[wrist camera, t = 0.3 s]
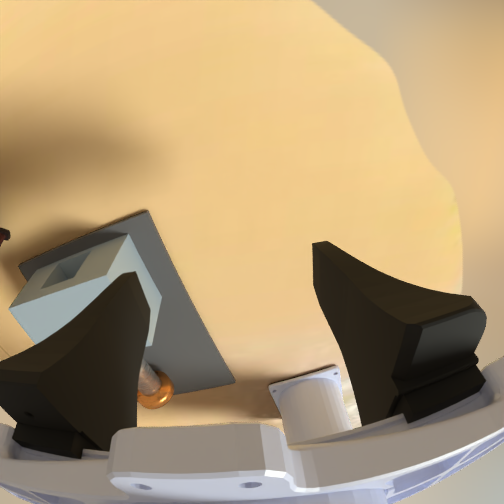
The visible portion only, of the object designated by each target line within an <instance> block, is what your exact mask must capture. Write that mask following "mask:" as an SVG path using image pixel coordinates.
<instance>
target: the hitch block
mask: <svg viewBox="0 0 504 504" xmlns="http://www.w3.org/2000/svg"><path fill="white" fill-rule="evenodd" d="M133 271H136V273H137V276H138V278H139V281H140V284H141V286H142V289H143V291H144V294H145V297H146V299H147V302H148V304H149V307H150V309H151V313H150V325H149V333H148V337H147V342H146V346H145V347H147V346H152V342H153V337H154V332H155V327H156V323H157V318H158V313H159V308H160V304H161V299H162V296H161V294H160V292H159V291H158V289H157V287H156V285H155V283H154V282H153V280H152V278H151V276H150V274H149V272H148V270H147V269H146V267H145V265H144V263H143V261H142V259H141V257H140V255H139V253H138V251H137V249H136V247H135V245H134V243H133V241H132V239H131V237H130V235H129V234H126V235H123V236H121V237H118V238H115V239H113V240H110V241H107V242H105V243H102V244H99V245H97V246H94V247H92V248H89V249H87V250H84V251H81V252H79V253H76V254H74V255H71V256H69V257H67V258H64V259H62V260H59V261H57V262H54V263H52V264H50V265H47V266H45V267H42V268H40V269H38V270H36V272H35V273H34V274H33V275H32V277H31V278H30V279H29V281H28V282H27V283H26V285H25V286H24V287H23V289H22V290H21V292H20V293H19V294H18V296H17V297H16V299H15V300H14V301H13V303H12V304H11V306H10V307H9V311H10V312H11V313H12V315H13V316H14V317H15V319H16V320H17V321H18V323H19V324H20V325H21V327H22V328H23V329H24V331H25V332H26V333H27V334H28V336H29V337H30V338H31V339H32V341H33V342H34V343H35V344H38V343H39V342H41V341H43V340H44V339H46V338H47V337H49V336H50V335H52V334H53V333H55V332H56V331H58V330H59V329H60V328H62V327H63V326H64V325H66V324H67V323H68V322H69V321H71V320H72V319H73V318H74V317H76V316H77V315H78V314H79V313H80V312H81V311H82V310H83V309H84V308H85V307H87V306H88V305H89V304H90V303H91V302H92V301H93V300H94V299H95V298H96V297H97V296H98V295H99V294H100V293H101V292H102V291H103V290H104V289H105V288H107V287H108V286H109V285H110V284H111V283H112V282H113V281H114V280H115V279H116V278H117V277H118V276H120V275H121V274H122V273H127V272H133Z"/></svg>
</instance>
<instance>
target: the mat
mask: <svg viewBox="0 0 504 504" xmlns="http://www.w3.org/2000/svg"><path fill="white" fill-rule="evenodd" d="M126 234H129V235H130V237H131V239H132V241H133V243H134V245H135V247H136V249H137V251H138V253H139V255H140V257H141V259H142V261H143V263H144V265H145V267H146V269H147V270H148V272H149V274H150V276H151V278H152V280H153V282H154V283H155V285H156V287H157V289H158V291H159V292H160V294H161V296H162V299H161V304H160V308H159V313H158V318H157V323H156V327H155V332H154V337H153V342H152V346H147V347H145V351H144V355H143V358H144V360H145V361H146V362H147V363H148V365H149V366H150V367H151V368H152V370H153V371H162V372H164V373H165V374H167V376H168V377H169V378H170V379H171V381H172V382H173V384H174V393H173V395H176V394H182V393H187V392H193V391H199V390H204V389H209V388H214V387H219V386H224V385H229V384H233V383H235V379H234V377H233V375H232V374H231V372H230V370H229V368H228V367H227V365H226V363H225V362H224V360H223V358H222V356H221V354H220V353H219V351H218V349H217V347H216V346H215V344H214V342H213V340H212V338H211V336H210V335H209V333H208V331H207V329H206V327H205V325H204V323H203V322H202V320H201V318H200V316H199V314H198V312H197V310H196V308H195V306H194V305H193V303H192V301H191V299H190V297H189V295H188V293H187V291H186V289H185V287H184V285H183V283H182V281H181V279H180V277H179V275H178V273H177V271H176V269H175V267H174V265H173V263H172V261H171V259H170V256H169V254H168V252H167V250H166V248H165V246H164V244H163V242H162V240H161V237H160V235H159V233H158V231H157V229H156V227H155V224H154V222H153V220H152V218H151V216H150V213H149V211H145V212H142V213H140V214H137V215H134V216H132V217H129V218H127V219H124V220H121V221H119V222H116V223H114V224H111V225H109V226H106V227H104V228H101V229H99V230H96V231H94V232H91V233H89V234H87V235H84V236H82V237H79V238H77V239H75V240H72V241H70V242H68V243H65V244H63V245H61V246H59V247H56V248H54V249H52V250H50V251H47V252H45V253H43V254H41V255H39V256H36V257H34V258H32V259H30V260H28V261H26V262H24V263H21V264H20V265H19V266H18V267H19V269H20V270H21V272H22V274H23V275H24V277H25V279H26V280H27V282H28V281H29V279H30V278H31V277H32V275H33V274H34V273H35V272H36V270H38V269H40V268H42V267H45V266H47V265H50V264H52V263H54V262H57V261H59V260H62V259H64V258H67V257H69V256H71V255H74V254H76V253H79V252H81V251H84V250H87V249H89V248H92V247H94V246H97V245H99V244H102V243H105V242H107V241H110V240H113V239H115V238H118V237H121V236H123V235H126Z"/></svg>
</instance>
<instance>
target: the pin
mask: <svg viewBox="0 0 504 504" xmlns="http://www.w3.org/2000/svg"><path fill="white" fill-rule="evenodd" d="M173 393H174V384H173V382H172V381H171V379H170V378H169V377H168V376H167V374H165V373H164V372H162V371H153V370H152V368H151V367H150V366H149V365H148V363H147V362H146V361H145V360H144V358H143V360H142V364H141V369H140V374H139V381H138V394H137V401H138V402H139V403H140V404H141V405H142V406H144V407H145V408H148V409H157V408H160V407H162V406H163V405H165V404H166V403H167V402H168V401H169V400H170V399H171V397H172V395H173Z"/></svg>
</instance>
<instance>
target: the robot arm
mask: <svg viewBox="0 0 504 504" xmlns="http://www.w3.org/2000/svg"><path fill="white" fill-rule="evenodd" d="M312 250H313V286H314V289H315V292H316V295H317V298H318V301H319V304H320V307H321V309H322V311H323V313H324V315H325V317H326V319H327V322H328V324H329V326H330V328H331V330H332V332H333V334H334V336H335V338H336V341H337V343H338V345H339V347H340V350H341V352H342V355H343V358H344V361H345V364H346V367H347V370H348V374H349V377H350V381H351V384H352V388H353V391H354V395H355V399H356V403H357V407H358V411H359V415H360V420H361V424H362V427H358V428H355V429H353V428H352V425H351V422H350V419H349V416H348V413H347V410H346V407H345V404H344V401H343V395H342V386H341V377H340V369H339V367H338V366H333V367H330V368H327V369H323V370H320V371H317V372H314V373H310V374H307V375H303V376H300V377H296V378H293V379H289V380H286V381H282V382H278V383H274V384H271V385H269V391H270V393H271V395H272V397H273V399H274V401H275V404H276V406H277V408H278V410H279V412H280V414H281V416H282V422H283V427H284V432H285V435H284V434H283V433H282V432H281V431H280V429H279V428H277V427H275V426H272V425H268V424H264V423H260V422H230V423H220V424H209V425H194V426H173V427H137V394H138V381H139V374H140V369H141V364H142V360H143V355H144V351H145V346H146V342H147V337H148V333H149V325H150V313H151V309H150V307H149V304H148V302H147V299H146V297H145V294H144V291H143V289H142V286H141V284H140V281H139V278H138V276H137V273H136V271H133V272H127V273H122V274H121V275H120V276H118V277H117V278H116V279H115V280H114V281H113V282H112V283H111V284H110V285H109V286H108V287H107V288H105V289H104V290H103V291H102V292H101V293H100V294H99V295H98V296H97V297H96V298H95V299H94V300H93V301H92V302H91V303H90V304H89V305H88V306H87V307H85V308H84V309H83V310H82V311H81V312H80V313H79V314H78V315H77V316H76V317H74V318H73V319H72V320H71V321H69V322H68V323H67V324H66V325H64V326H63V327H62V328H60V329H59V330H58V331H56V332H55V333H53V334H52V335H50V336H49V337H47V338H46V339H44V340H43V341H41V342H39V343H38V344H36V345H34V346H32V347H31V348H29V349H27V350H25V351H23V352H21V353H19V354H17V355H14V356H12V357H10V358H7V359H5V360H3V361H0V406H1V407H2V408H3V409H4V410H5V411H6V412H7V413H8V414H9V415H10V416H11V417H12V418H13V419H14V420H15V421H16V422H17V425H16V428H15V429H14V428H13V427H11V426H9V425H6V424H2V423H0V487H1V488H3V489H4V490H6V491H8V492H9V493H11V494H13V495H14V496H16V497H18V498H20V499H23V500H25V501H28V502H31V503H33V504H393V503H396V502H398V501H400V500H403V499H405V498H407V497H410V496H411V495H414V494H416V493H418V492H420V491H422V490H424V489H426V488H428V487H430V486H432V485H434V484H436V483H438V482H440V481H442V480H444V479H446V478H447V477H449V476H451V475H453V474H454V473H456V472H458V471H460V470H461V469H463V468H465V467H466V466H468V465H470V464H471V463H473V462H474V461H476V460H477V459H479V458H481V457H482V456H484V455H485V454H487V453H488V452H490V451H491V450H493V449H494V448H496V447H497V446H499V445H500V444H502V443H503V442H504V356H503V357H501V358H499V359H497V360H495V361H493V362H492V363H490V364H488V365H487V366H485V367H484V368H483V369H482V370H481V371H480V370H479V369H478V367H477V366H476V364H477V363H478V358H477V356H476V355H475V353H474V352H475V350H476V348H477V346H478V343H479V341H480V339H481V337H482V335H483V333H484V330H485V327H486V319H487V317H486V314H485V312H484V311H483V309H482V308H481V307H480V306H479V305H478V304H477V303H476V301H475V300H474V299H473V298H472V297H471V296H466V295H465V296H464V295H458V294H450V293H444V292H439V291H435V290H430V289H426V288H423V287H419V286H416V285H413V284H410V283H407V282H404V281H401V280H398V279H396V278H394V277H391V276H389V275H386V274H384V273H382V272H380V271H378V270H376V269H374V268H372V267H370V266H368V265H366V264H365V263H363V262H361V261H359V260H358V259H356V258H354V257H353V256H351V255H349V254H348V253H346V252H345V251H343V250H341V249H340V248H338V247H337V246H335V245H333V244H332V243H330V242H328V241H323V242H317V243H312Z"/></svg>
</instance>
